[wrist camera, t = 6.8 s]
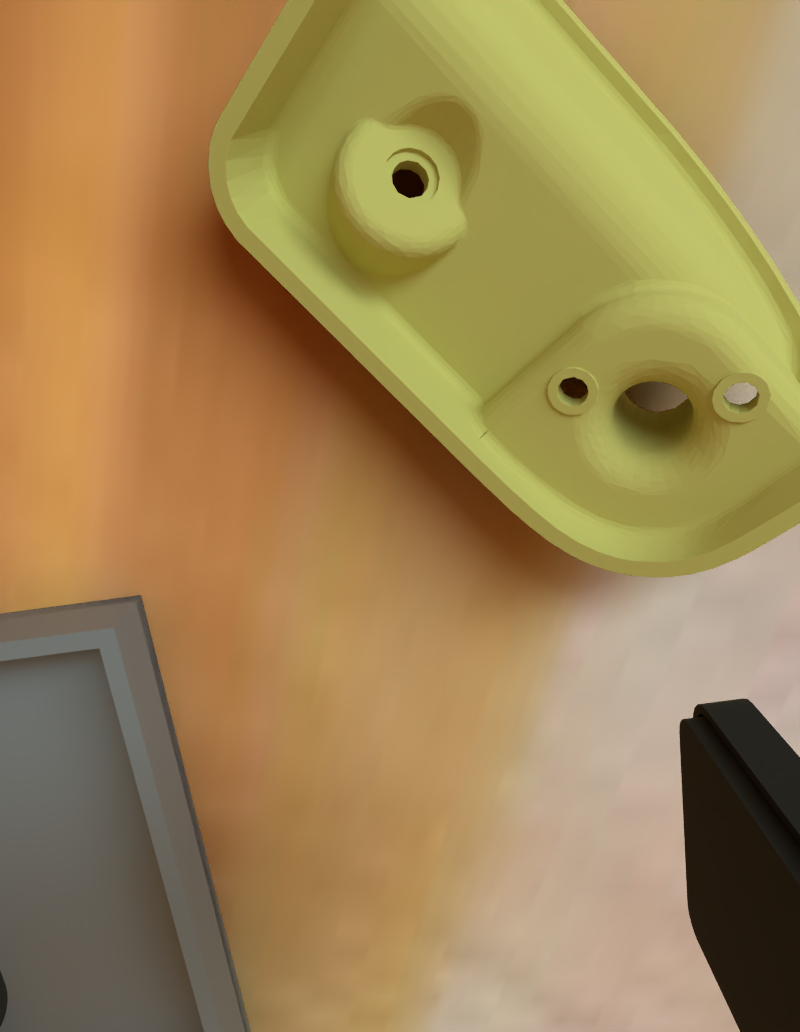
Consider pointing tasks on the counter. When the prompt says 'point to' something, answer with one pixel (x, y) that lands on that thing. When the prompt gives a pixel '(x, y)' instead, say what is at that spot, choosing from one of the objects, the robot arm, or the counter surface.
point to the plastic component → (524, 268)
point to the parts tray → (101, 837)
